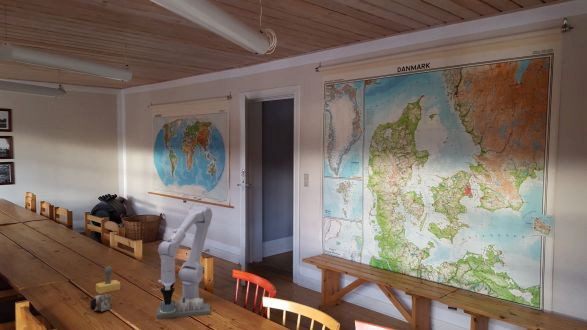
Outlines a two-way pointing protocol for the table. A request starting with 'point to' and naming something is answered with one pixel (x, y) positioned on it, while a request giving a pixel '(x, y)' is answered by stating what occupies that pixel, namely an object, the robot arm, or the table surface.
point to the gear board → (187, 313)
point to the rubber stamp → (107, 283)
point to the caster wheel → (101, 302)
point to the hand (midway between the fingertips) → (168, 301)
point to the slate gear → (168, 306)
